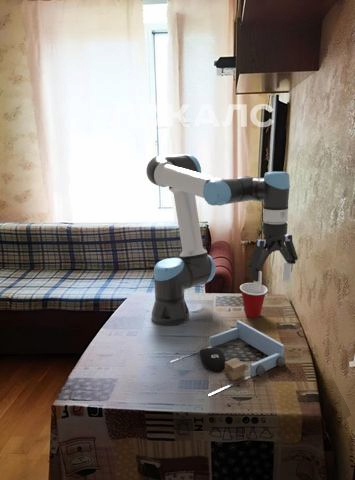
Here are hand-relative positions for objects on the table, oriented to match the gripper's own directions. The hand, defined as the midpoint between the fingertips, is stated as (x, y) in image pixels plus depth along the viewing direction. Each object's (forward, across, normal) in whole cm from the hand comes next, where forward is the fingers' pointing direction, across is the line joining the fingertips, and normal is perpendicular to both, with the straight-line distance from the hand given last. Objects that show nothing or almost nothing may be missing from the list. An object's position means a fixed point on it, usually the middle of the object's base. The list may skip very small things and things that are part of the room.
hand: (272, 285), depth 121 cm
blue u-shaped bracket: (+21, -11, 0) cm, 24 cm away
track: (+21, -19, 0) cm, 28 cm away
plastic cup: (+22, +11, +20) cm, 32 cm away
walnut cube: (+22, -21, -6) cm, 31 cm away
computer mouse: (+22, -22, +3) cm, 31 cm away
